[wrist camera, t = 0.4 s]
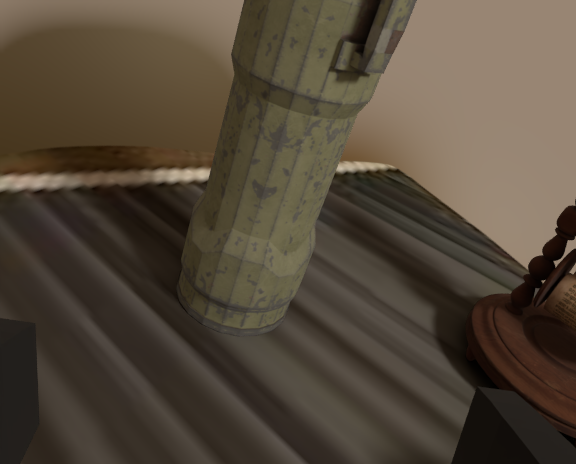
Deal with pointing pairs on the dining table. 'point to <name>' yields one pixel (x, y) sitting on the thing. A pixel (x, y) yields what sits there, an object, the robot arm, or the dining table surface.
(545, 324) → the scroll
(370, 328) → the dining table surface
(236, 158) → the grey-green tall column
